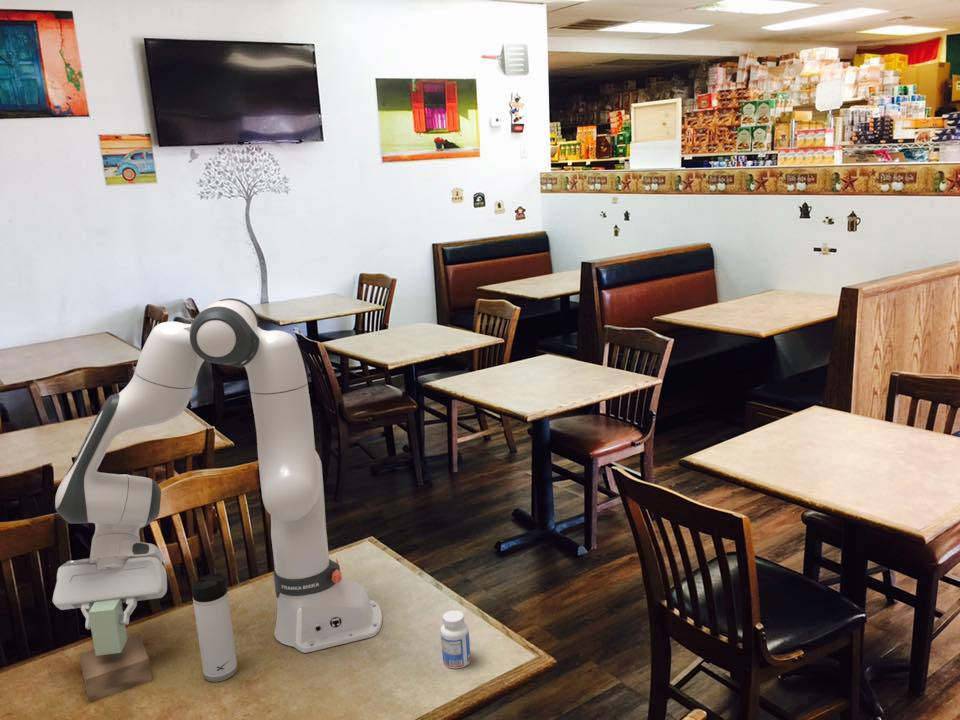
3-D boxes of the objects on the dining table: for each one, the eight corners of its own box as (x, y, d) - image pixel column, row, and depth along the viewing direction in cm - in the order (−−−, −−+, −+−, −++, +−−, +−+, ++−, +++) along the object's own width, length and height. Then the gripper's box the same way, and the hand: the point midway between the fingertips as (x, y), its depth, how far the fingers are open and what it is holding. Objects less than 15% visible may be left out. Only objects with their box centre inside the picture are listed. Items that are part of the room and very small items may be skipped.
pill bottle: (457, 649, 154) (454, 604, 151) (476, 660, 150) (473, 614, 148) (436, 662, 150) (433, 616, 148) (455, 673, 146) (452, 626, 144)
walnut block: (143, 657, 157) (139, 635, 156) (152, 681, 149) (148, 658, 148) (83, 677, 151) (79, 654, 150) (89, 703, 143) (85, 679, 142)
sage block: (127, 639, 151) (120, 597, 149) (120, 652, 147) (113, 609, 145) (103, 642, 150) (95, 600, 149) (95, 655, 146) (88, 612, 144)
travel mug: (229, 683, 146) (215, 587, 142) (197, 681, 148) (183, 585, 143) (245, 664, 152) (233, 570, 148) (214, 661, 154) (201, 569, 149)
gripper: (52, 556, 150) (42, 629, 143) (163, 544, 153) (158, 614, 146) (65, 567, 155) (55, 637, 148) (171, 554, 158) (166, 623, 151)
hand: (107, 626), depth 147 cm, fingers closed on sage block, 4 cm apart
